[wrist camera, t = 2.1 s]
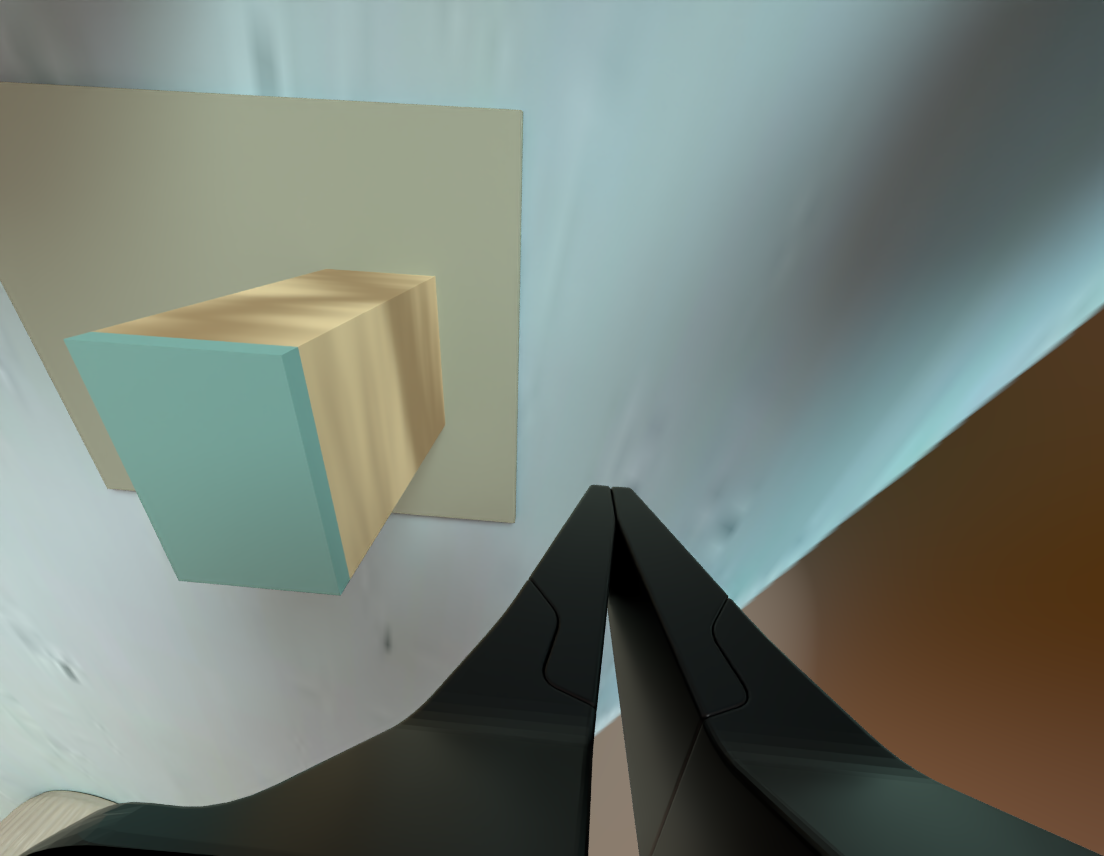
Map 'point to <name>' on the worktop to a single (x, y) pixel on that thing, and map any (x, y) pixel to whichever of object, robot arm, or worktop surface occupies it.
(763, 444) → the worktop surface
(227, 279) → the rubber mat
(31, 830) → the ramekin
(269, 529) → the beech block
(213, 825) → the robot arm
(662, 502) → the worktop surface
